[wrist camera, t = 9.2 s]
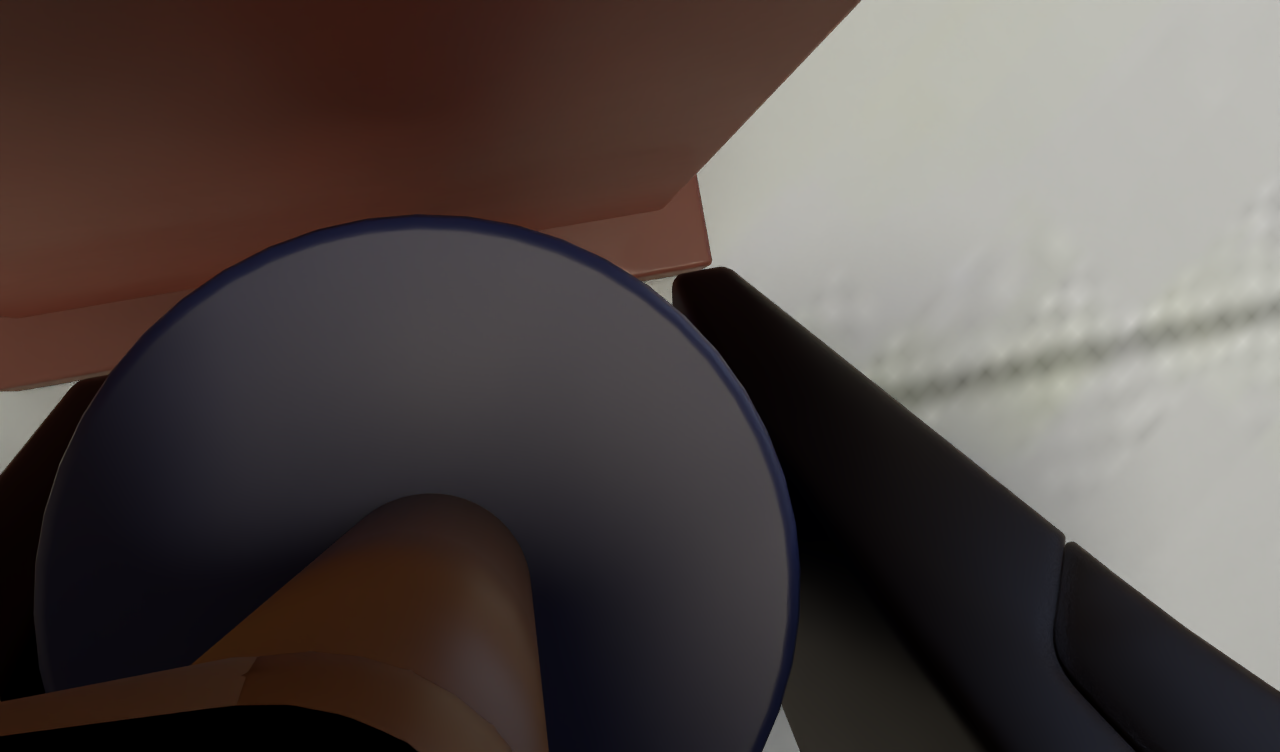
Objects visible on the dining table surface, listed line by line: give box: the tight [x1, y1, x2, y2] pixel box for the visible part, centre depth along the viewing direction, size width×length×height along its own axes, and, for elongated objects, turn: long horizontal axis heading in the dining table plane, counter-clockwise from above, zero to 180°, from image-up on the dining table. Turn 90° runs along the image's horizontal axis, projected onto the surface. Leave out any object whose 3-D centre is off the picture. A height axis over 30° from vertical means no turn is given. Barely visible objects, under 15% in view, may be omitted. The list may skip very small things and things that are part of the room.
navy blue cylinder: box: [0, 214, 801, 752], centre depth 8 cm, size 6×4×13 cm
